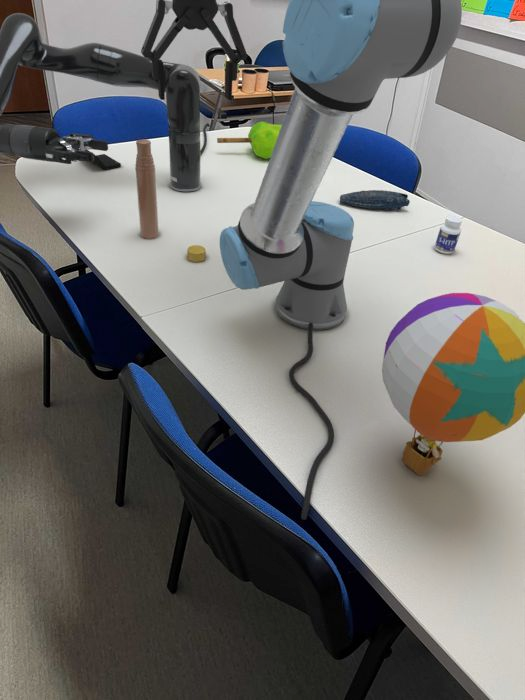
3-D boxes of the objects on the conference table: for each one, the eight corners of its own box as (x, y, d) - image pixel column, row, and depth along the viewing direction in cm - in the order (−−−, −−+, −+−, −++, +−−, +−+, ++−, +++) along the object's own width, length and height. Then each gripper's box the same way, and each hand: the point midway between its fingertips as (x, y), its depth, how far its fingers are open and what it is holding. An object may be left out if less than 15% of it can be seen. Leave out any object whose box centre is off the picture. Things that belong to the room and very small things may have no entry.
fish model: (408, 214, 157) (412, 198, 153) (339, 207, 158) (341, 191, 154) (406, 206, 162) (410, 190, 159) (339, 199, 163) (341, 183, 160)
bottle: (155, 229, 137) (149, 137, 123) (161, 237, 134) (156, 143, 119) (138, 232, 135) (130, 139, 121) (144, 240, 132) (136, 145, 118)
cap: (184, 259, 126) (184, 251, 125) (192, 251, 129) (192, 243, 128) (200, 263, 125) (200, 255, 124) (208, 255, 128) (208, 247, 127)
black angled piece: (125, 159, 170) (105, 137, 162) (114, 177, 169) (93, 156, 161) (104, 155, 177) (83, 134, 168) (93, 172, 175) (71, 152, 167)
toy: (329, 455, 81) (367, 293, 62) (405, 402, 92) (457, 251, 73) (434, 545, 70) (518, 382, 52) (506, 474, 81) (598, 317, 62)
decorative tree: (214, 118, 187) (294, 118, 193) (214, 147, 194) (292, 146, 199) (220, 132, 174) (307, 132, 179) (220, 164, 180) (304, 162, 185)
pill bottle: (433, 251, 139) (442, 220, 133) (435, 243, 143) (444, 213, 137) (453, 256, 138) (464, 225, 132) (454, 247, 142) (465, 217, 136)
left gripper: (52, 150, 132) (113, 158, 131) (23, 168, 121) (90, 177, 120) (46, 118, 128) (110, 126, 126) (16, 135, 116) (85, 144, 115)
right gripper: (255, -30, 98) (249, 93, 111) (119, -40, 90) (130, 93, 104) (268, -26, 92) (259, 102, 105) (124, -37, 85) (135, 103, 98)
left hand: (100, 151), depth 123 cm, fingers open, 8 cm apart
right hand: (195, 98), depth 105 cm, fingers open, 13 cm apart
